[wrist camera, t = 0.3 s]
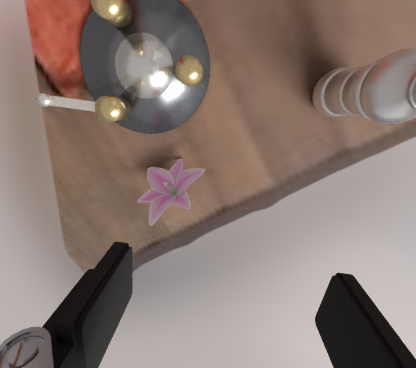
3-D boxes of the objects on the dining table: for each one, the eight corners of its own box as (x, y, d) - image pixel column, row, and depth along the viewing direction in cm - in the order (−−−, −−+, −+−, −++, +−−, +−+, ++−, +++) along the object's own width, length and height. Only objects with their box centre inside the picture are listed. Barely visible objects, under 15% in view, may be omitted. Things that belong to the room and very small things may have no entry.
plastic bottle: (302, 113, 36) (389, 126, 17) (315, 66, 33) (433, 23, 15) (342, 118, 36) (472, 138, 17) (358, 72, 33) (530, 37, 15)
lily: (218, 163, 41) (198, 152, 32) (209, 226, 40) (186, 233, 31) (162, 158, 45) (131, 147, 36) (153, 215, 45) (120, 219, 36)
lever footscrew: (131, 98, 35) (118, 97, 31) (130, 121, 37) (119, 123, 32) (53, 87, 35) (30, 85, 31) (55, 110, 37) (34, 111, 33)
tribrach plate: (79, -20, 31) (51, -44, 26) (218, -1, 31) (218, -21, 26) (88, 124, 39) (68, 127, 33) (201, 140, 38) (198, 146, 33)
